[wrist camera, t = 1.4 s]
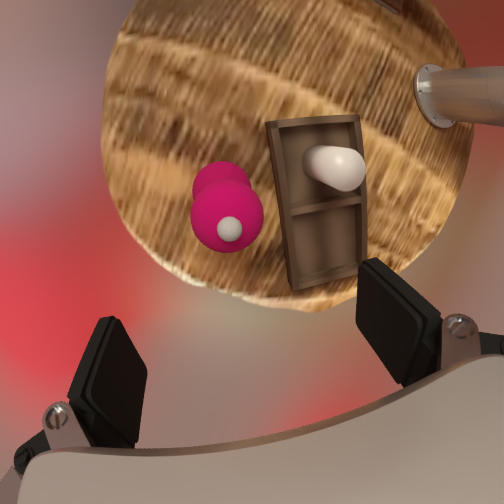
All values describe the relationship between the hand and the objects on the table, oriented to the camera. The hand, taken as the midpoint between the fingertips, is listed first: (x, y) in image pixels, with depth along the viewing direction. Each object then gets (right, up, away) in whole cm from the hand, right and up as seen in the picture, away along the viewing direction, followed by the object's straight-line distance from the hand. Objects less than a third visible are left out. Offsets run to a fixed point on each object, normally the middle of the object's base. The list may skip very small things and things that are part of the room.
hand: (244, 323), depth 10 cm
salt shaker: (+10, +15, +26) cm, 32 cm away
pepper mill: (-4, +12, +27) cm, 30 cm away
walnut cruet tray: (+10, +10, +30) cm, 33 cm away
